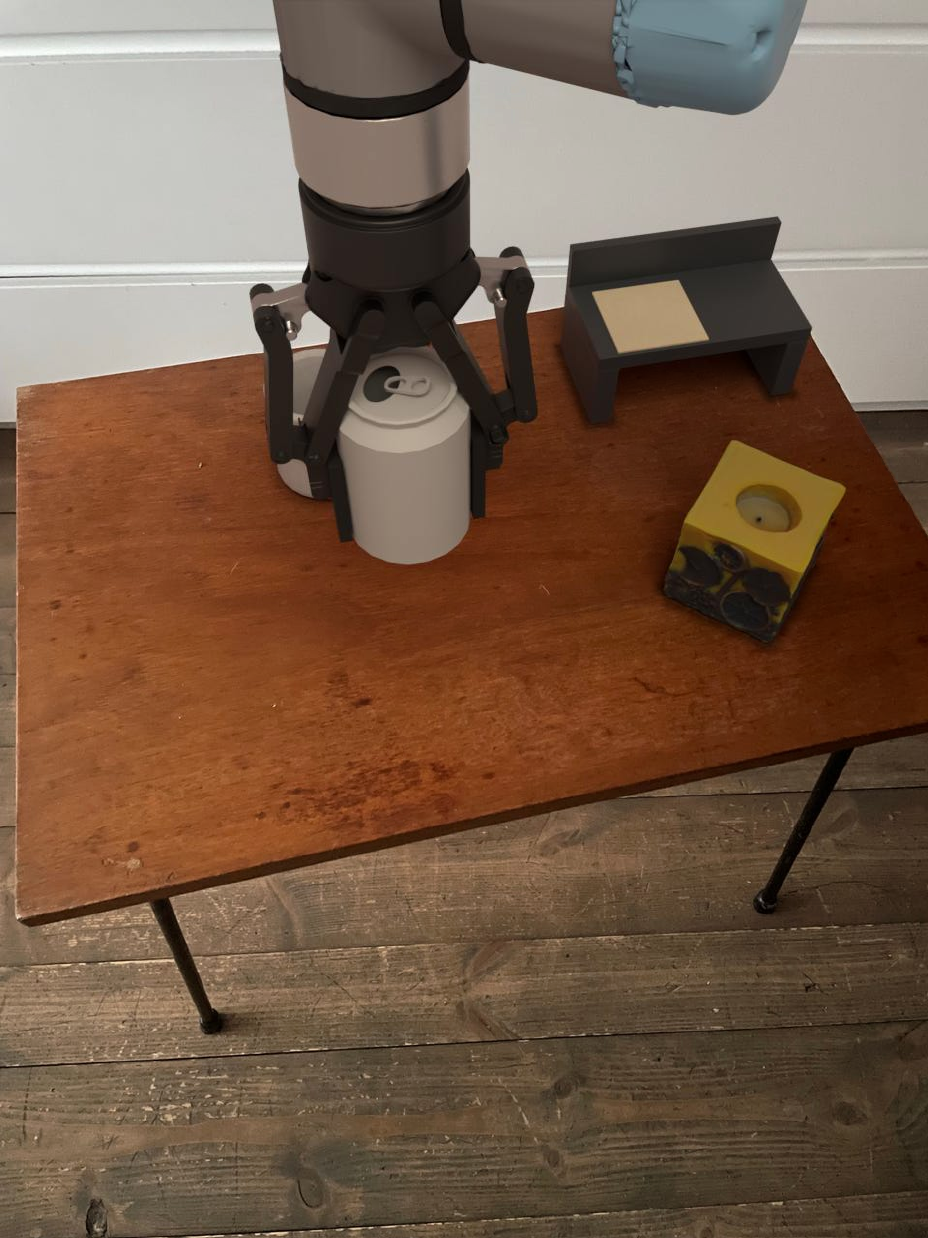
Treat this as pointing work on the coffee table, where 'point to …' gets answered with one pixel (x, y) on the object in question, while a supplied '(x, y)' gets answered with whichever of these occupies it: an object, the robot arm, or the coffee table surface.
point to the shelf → (679, 306)
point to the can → (407, 457)
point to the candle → (751, 540)
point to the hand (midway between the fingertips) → (409, 513)
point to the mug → (301, 413)
